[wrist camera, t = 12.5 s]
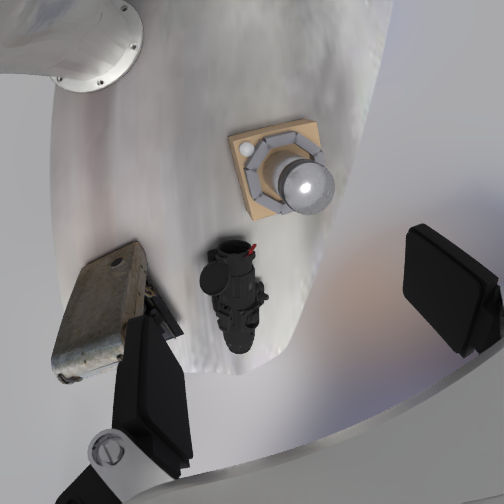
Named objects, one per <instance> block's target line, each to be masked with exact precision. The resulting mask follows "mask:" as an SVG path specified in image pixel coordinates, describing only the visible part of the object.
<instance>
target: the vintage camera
mask: <svg viewBox="0 0 504 504" xmlns="http://www.w3.org/2000/svg"><path fill="white" fill-rule="evenodd" d="M146 272H147V260H146V255H145V252H144V250H143V248H142V246H141V245H140V243H138V242H134V243H131V244H129V245H127V246H125V247H123V248H121V249H119V250H117V251H115V252H113V253H111V254H109V255H107V256H104V257H102V258H100V259H98V260H96V261H94V262H92V263H90V264H88V265H86V266H85V267H83V268H82V269H81V271H80V273H79V276H78V278H77V281H76V283H75V286H74V289H73V291H72V294H71V296H70V299H69V302H68V305H67V307H66V310H65V313H64V316H63V319H62V322H61V325H60V329H59V332H58V336H57V339H56V342H55V346H54V349H53V353H52V357H51V366H52V371H53V372H54V374H55V375H56V376H57V378H58V379H59V381H61V382H62V383H63V384H73V383H74V382H79V381H81V380H83V379H85V378H88V377H92V376H95V375H98V374H102V373H105V372H108V371H112V370H115V369H117V366H118V363H119V362H120V361H123V353H124V345H125V337H126V330H127V323H128V320H129V319H130V318H134V317H137V316H141V315H145V316H146V317H147V318H149V317H152V318H153V320H154V322H155V323H156V325H157V327H158V329H159V330H160V332H161V334H162V336H163V337H164V339H165V341H167V340H169V339H172V338H174V339H175V338H176V337H178V336H180V335H183V334H184V333H183V331H182V329H181V328H180V326H179V325H178V323H177V322H176V320H175V319H174V317H173V316H172V314H171V312H170V311H169V309H168V308H167V306H166V304H165V303H164V302H163V300H162V299H161V297H160V296H159V294H158V293H157V291H156V289H155V288H154V286H153V284H152V282H151V281H150V279H149V278H148V276H147V275H146Z"/></svg>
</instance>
